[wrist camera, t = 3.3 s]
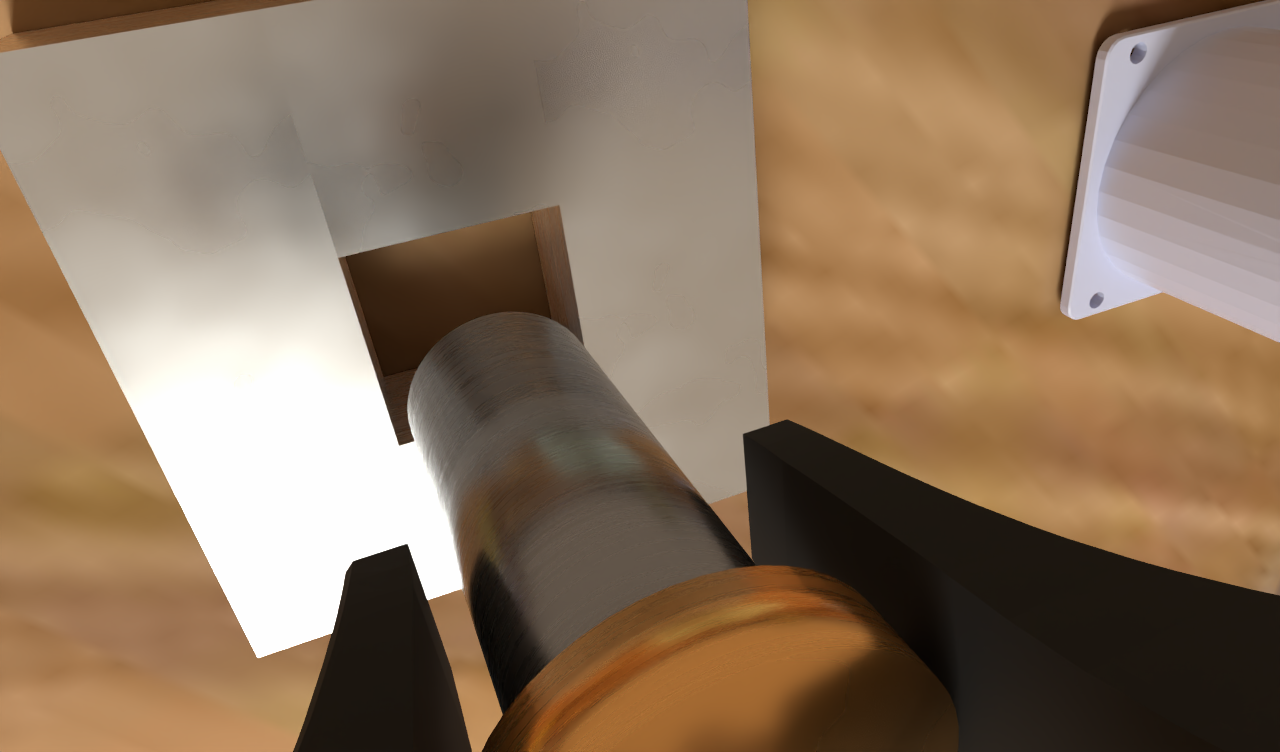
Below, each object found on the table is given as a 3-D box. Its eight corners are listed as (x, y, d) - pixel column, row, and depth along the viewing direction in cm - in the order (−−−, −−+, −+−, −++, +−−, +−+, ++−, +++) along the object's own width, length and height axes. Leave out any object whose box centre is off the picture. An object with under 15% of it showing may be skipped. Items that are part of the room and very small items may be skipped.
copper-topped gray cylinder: (609, 242, 13) (977, 570, 7) (643, 463, 15) (944, 878, 9) (328, 318, 12) (431, 808, 5) (408, 546, 14) (548, 1092, 8)
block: (677, -75, 17) (743, -72, 15) (720, 421, 23) (772, 482, 21) (11, 33, 14) (-46, 60, 12) (260, 567, 20) (257, 657, 18)
